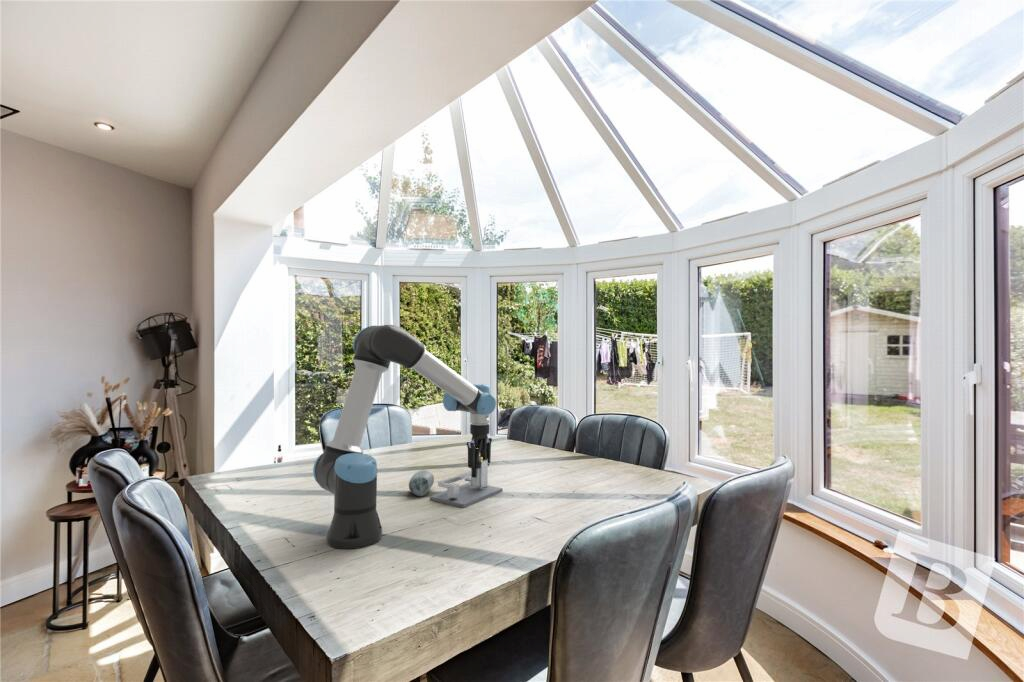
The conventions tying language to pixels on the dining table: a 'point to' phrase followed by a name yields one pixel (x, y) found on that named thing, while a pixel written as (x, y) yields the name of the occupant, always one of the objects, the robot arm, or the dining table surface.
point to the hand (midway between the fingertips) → (479, 483)
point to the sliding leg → (481, 473)
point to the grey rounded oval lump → (421, 482)
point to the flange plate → (466, 495)
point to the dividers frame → (453, 484)
